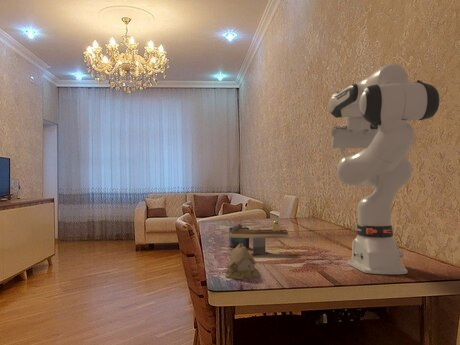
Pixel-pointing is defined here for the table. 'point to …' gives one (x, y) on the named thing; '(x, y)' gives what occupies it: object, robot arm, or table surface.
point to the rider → (275, 226)
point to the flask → (236, 241)
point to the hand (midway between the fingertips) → (356, 159)
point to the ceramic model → (241, 264)
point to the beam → (257, 237)
